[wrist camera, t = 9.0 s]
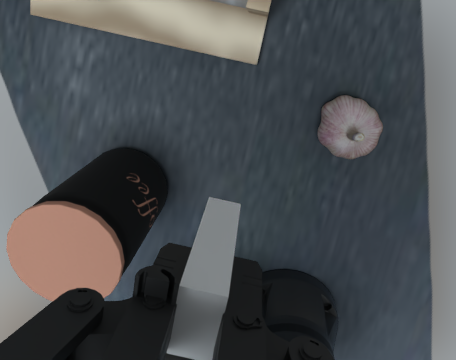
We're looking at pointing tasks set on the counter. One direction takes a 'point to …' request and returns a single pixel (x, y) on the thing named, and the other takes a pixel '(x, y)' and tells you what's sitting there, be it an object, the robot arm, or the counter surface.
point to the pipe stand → (172, 22)
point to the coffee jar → (88, 225)
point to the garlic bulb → (349, 127)
